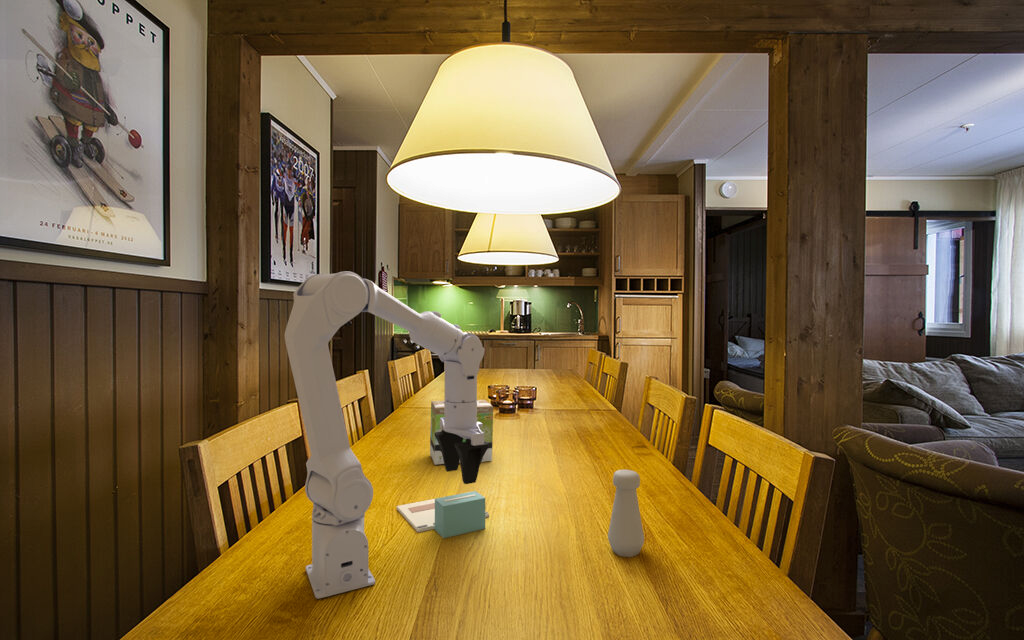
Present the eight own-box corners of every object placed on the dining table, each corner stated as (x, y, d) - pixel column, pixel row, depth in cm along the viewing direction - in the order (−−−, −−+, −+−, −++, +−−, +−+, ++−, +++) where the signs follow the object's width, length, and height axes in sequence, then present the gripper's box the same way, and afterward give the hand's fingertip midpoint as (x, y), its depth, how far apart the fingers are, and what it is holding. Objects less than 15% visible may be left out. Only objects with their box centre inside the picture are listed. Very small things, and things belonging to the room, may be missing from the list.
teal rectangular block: (485, 528, 91) (485, 497, 91) (443, 538, 87) (443, 505, 87) (475, 520, 95) (475, 490, 95) (434, 529, 91) (434, 498, 91)
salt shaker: (618, 539, 87) (619, 463, 87) (650, 550, 84) (651, 470, 83) (601, 552, 83) (601, 472, 82) (633, 563, 79) (634, 480, 79)
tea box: (434, 466, 127) (434, 407, 127) (429, 455, 137) (429, 400, 137) (493, 462, 131) (493, 404, 131) (484, 451, 141) (485, 398, 141)
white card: (489, 516, 97) (489, 512, 97) (417, 532, 90) (417, 528, 90) (462, 496, 107) (462, 492, 107) (396, 509, 100) (396, 505, 100)
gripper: (500, 404, 86) (499, 484, 87) (464, 392, 99) (463, 462, 99) (462, 408, 83) (461, 492, 83) (429, 395, 95) (429, 467, 96)
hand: (460, 476), depth 91 cm, fingers open, 7 cm apart
